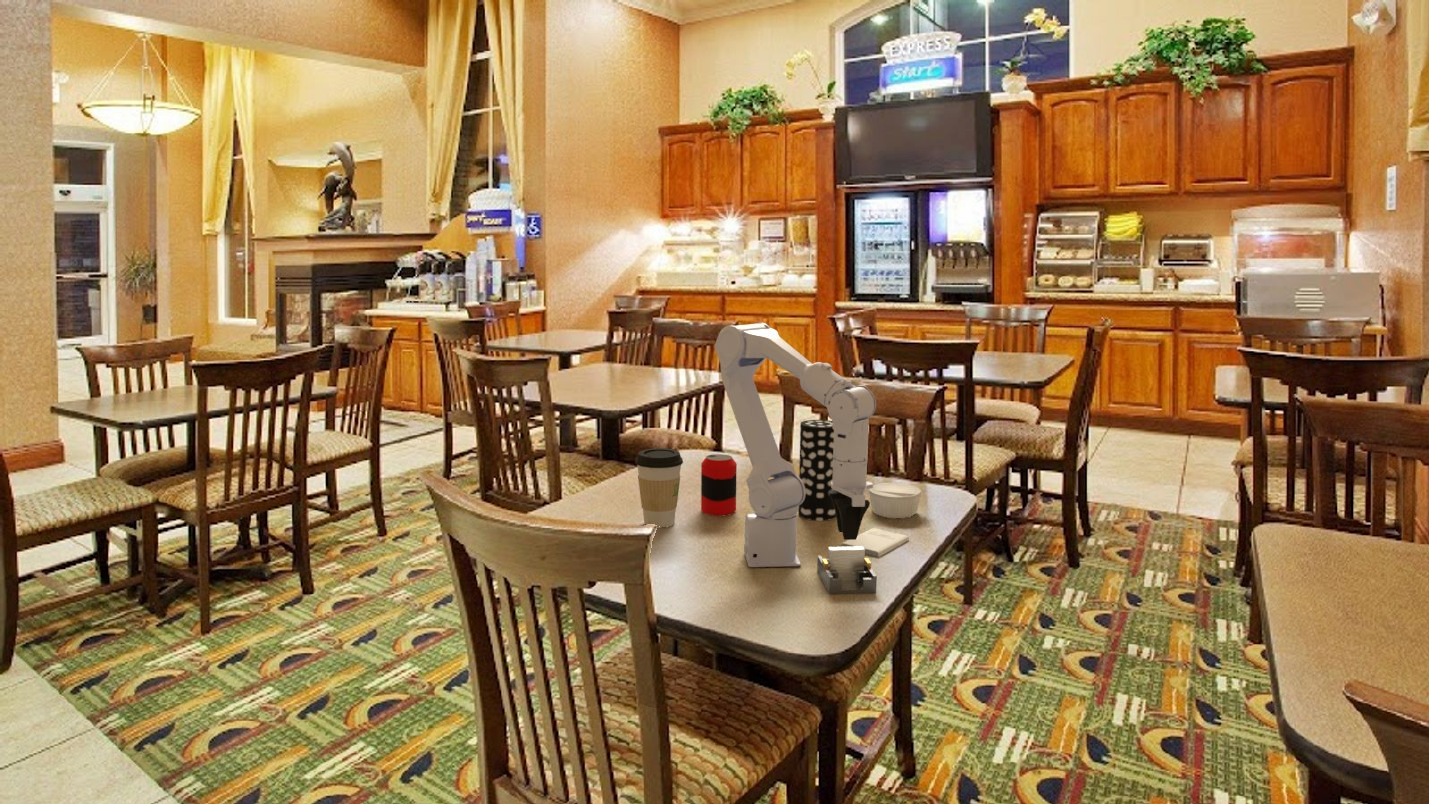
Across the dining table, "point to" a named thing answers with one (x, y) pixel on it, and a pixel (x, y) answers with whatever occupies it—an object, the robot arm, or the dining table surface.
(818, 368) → the robot arm
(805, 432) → the spotted tube
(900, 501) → the ramekin
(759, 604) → the dining table surface
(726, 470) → the soda can
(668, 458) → the coffee cup
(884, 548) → the external hard drive
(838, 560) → the grey flat square block
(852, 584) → the rack
